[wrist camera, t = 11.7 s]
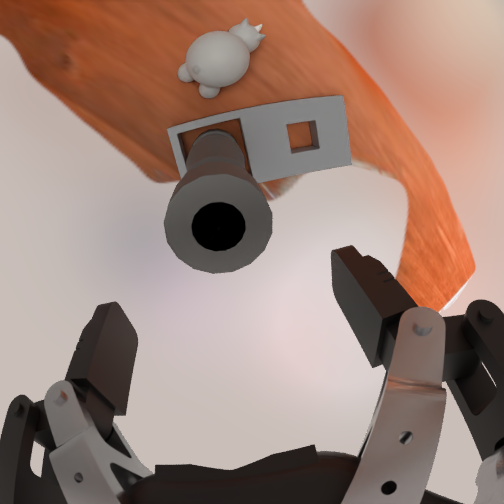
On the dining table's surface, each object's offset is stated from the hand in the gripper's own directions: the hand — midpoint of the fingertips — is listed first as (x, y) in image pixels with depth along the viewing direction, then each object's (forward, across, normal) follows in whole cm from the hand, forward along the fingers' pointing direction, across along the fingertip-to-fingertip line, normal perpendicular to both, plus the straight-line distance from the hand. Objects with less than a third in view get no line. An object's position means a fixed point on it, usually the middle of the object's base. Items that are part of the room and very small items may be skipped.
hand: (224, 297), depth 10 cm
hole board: (+30, -6, 0) cm, 31 cm away
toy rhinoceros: (+31, -4, -13) cm, 33 cm away
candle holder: (+31, 0, 0) cm, 31 cm away
